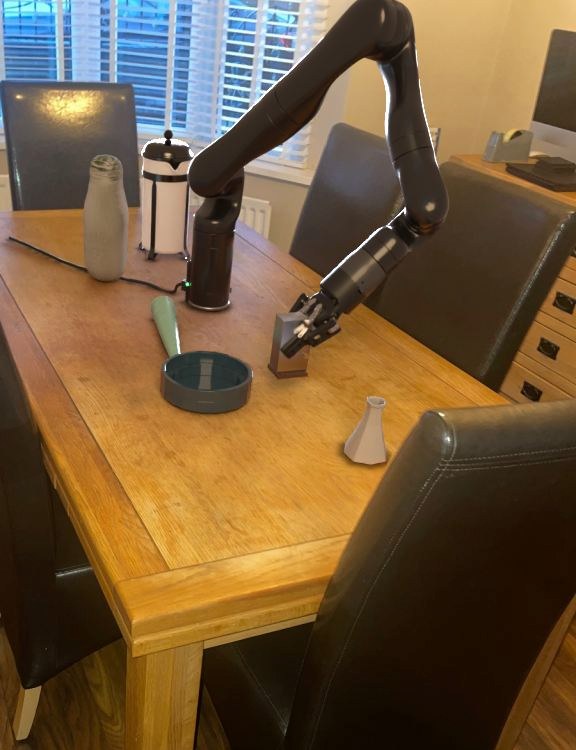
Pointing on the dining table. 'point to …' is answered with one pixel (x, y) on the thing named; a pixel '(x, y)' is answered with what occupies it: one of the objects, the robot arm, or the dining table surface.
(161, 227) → the coffee press
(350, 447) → the flask
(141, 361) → the dining table surface
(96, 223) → the glass bottle
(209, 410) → the bowl
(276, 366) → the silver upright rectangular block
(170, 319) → the mint green cone
